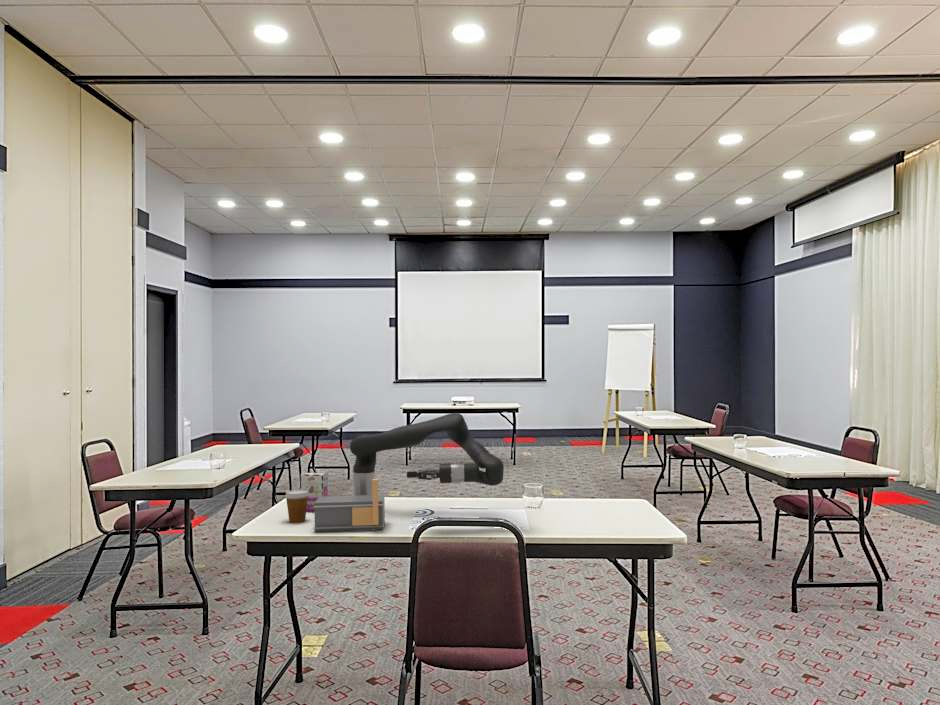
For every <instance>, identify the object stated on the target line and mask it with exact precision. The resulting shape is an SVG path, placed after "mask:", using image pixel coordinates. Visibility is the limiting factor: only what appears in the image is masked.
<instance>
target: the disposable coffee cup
mask: <svg viewBox="0 0 940 705" xmlns="http://www.w3.org/2000/svg"><path fill="white" fill-rule="evenodd" d="M308 495H309V494H308V491H307V490H301V489H293V490H288V491H286V493H285V499H286V505H287V506H286V507H287V514H288V520H289V521H288V522H289V523H291V524H297V523H298V522H300V523H303V521H304V522H305V521H306V515H307V512H306V509H307V500H308Z"/></svg>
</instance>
